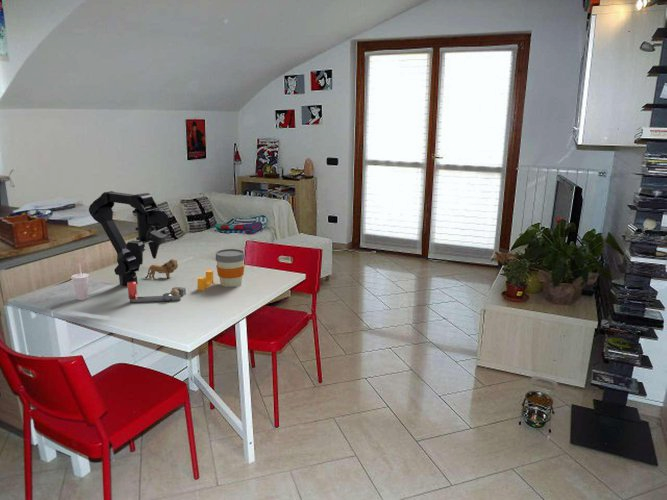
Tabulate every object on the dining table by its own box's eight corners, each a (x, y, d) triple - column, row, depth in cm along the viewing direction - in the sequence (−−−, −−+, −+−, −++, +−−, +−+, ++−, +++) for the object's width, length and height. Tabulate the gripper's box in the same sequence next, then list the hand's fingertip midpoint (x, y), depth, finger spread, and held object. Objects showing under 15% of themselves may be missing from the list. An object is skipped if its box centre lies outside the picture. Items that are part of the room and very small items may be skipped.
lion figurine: (178, 276, 231) (177, 257, 228) (178, 279, 226) (177, 260, 223) (145, 278, 227) (143, 258, 225) (143, 281, 222) (142, 262, 220)
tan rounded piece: (168, 298, 200) (168, 290, 199) (173, 295, 203) (173, 287, 202) (176, 299, 199) (175, 291, 198) (181, 296, 202) (180, 288, 201)
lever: (128, 303, 193) (126, 284, 191) (129, 300, 196) (128, 281, 194) (180, 301, 197) (179, 282, 195) (181, 298, 200) (180, 279, 198)
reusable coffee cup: (225, 292, 211) (224, 258, 207) (211, 284, 220) (209, 251, 216) (251, 286, 219) (250, 253, 215) (236, 279, 228) (235, 247, 224)
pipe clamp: (204, 283, 221) (203, 270, 220) (213, 284, 221) (213, 270, 219) (194, 293, 210) (193, 278, 208) (204, 293, 210) (203, 279, 208)
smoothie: (95, 297, 203) (91, 263, 199) (82, 302, 197) (78, 268, 193) (82, 294, 205) (78, 262, 201) (69, 300, 199) (65, 266, 195)
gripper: (148, 231, 193) (151, 269, 197) (175, 221, 210) (177, 257, 214) (123, 228, 195) (127, 266, 199) (151, 219, 213) (154, 254, 217)
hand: (147, 261), depth 207 cm, fingers open, 9 cm apart
